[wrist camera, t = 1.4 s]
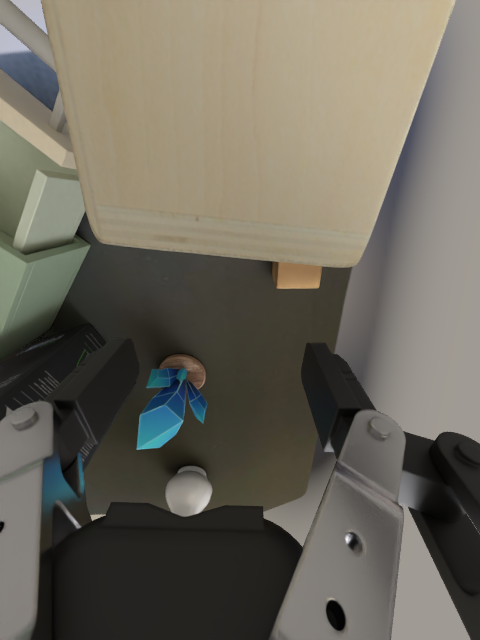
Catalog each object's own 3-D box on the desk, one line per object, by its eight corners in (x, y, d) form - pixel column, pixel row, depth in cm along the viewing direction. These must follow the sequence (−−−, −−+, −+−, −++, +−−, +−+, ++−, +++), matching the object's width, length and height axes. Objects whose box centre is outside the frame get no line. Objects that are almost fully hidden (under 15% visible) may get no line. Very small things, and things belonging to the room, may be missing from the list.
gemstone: (168, 394, 37) (138, 473, 26) (153, 352, 33) (110, 425, 22) (212, 391, 36) (199, 470, 26) (202, 348, 32) (183, 420, 22)
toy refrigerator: (275, 218, 24) (388, 276, 5) (207, 211, 24) (79, 244, 5) (290, 123, 20) (835, -763, 2) (210, 112, 20) (-233, -1110, 1)
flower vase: (237, 488, 51) (234, 710, 29) (157, 487, 51) (92, 707, 29) (238, 454, 44) (234, 704, 22) (146, 453, 44) (52, 701, 22)
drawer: (-3, -15, 16) (-150, -144, 10) (139, 117, 19) (93, 79, 13) (-44, 202, 23) (-147, 202, 17) (67, 272, 26) (15, 293, 20)
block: (273, 238, 25) (279, 245, 21) (313, 237, 25) (326, 244, 21) (271, 276, 27) (276, 288, 23) (307, 275, 27) (319, 288, 23)
